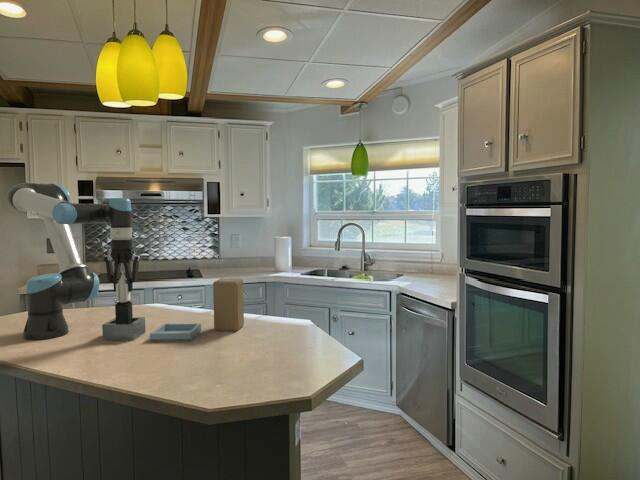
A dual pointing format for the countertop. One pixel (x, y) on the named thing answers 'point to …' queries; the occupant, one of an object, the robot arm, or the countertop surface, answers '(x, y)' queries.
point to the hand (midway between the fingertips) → (123, 300)
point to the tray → (176, 332)
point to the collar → (123, 329)
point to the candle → (123, 304)
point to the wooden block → (228, 304)
